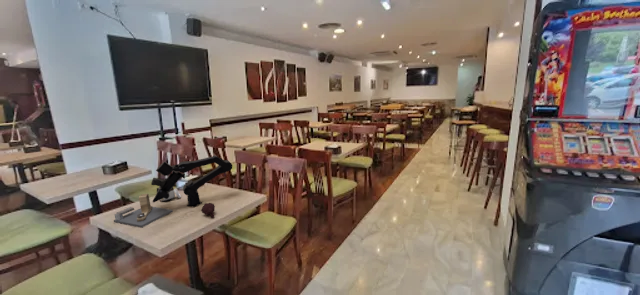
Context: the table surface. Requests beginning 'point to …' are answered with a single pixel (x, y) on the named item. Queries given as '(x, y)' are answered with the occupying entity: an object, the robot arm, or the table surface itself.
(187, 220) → the table surface
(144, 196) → the link
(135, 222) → the base board
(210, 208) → the icecream
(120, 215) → the keeper
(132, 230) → the table surface
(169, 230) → the table surface
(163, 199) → the spread jar
